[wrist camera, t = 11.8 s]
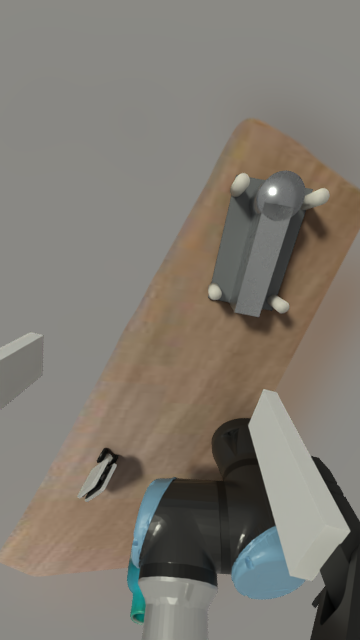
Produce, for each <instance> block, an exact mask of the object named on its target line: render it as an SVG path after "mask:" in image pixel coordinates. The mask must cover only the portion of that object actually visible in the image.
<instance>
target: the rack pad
mask: <svg viewBox="0 0 360 640" xmlns="http://www.w3.org/2000/svg"><path fill="white" fill-rule="evenodd" d="M265 181H266V180H261V179H255V178H250V177H249V176H248V175H247V174H245V173H242V174H239V175H236V178H235V181H234V183H233V184H232V186H231V188H230V193H231V200H230V204H229V208H228V213H227V217H226V221H225V226H224V230H223V234H222V239H221V243H220V247H219V252H218V256H217V261H216V265H215V269H214V274H213V278H212V282H211V284H210V285H209V286H208V292H209V295H208V298H210V299H212V300H220V301H225V302H230V299H231V295H232V291H233V287H234V284H235V280H236V276H237V272H238V268H239V265H240V261H241V257H242V253H243V250H244V246H245V242H246V238H247V234H248V231H249V227H250V223H251V219H252V216H251V214H250V210H249V203H250V199H251V196H252V194H253V193H254V191H255V190H256V189H257V188H258V187H259V186H260V185H261V184H262V183H264V182H265ZM312 191H313V189H308V188H305V198H304V202H303V204H302V206H301V208H300V209H299V210H298V212H297V213H296V214H295V215H293V216H292V217H291V218H290V221H289V224H288V227H287V231H286V234H285V237H284V240H283V243H282V246H281V249H280V253H279V256H278V259H277V262H276V265H275V268H274V272H273V275H272V278H271V281H270V284H269V287H268V290H267V294H266V297H265V300H264V303H263V306H262V309H266V310H271V311H272V310H273V308H274V309H275V310H277V311H278V312H279V313H285V312H287V311H288V309H289V304H288V303H287V302H286V301H284V300H283V299H281V298H280V297H278V296H277V295H278V292H279V289H280V286H281V283H282V280H283V277H284V274H285V271H286V268H287V265H288V262H289V259H290V256H291V253H292V250H293V247H294V244H295V241H296V238H297V235H298V233H299V230H300V227H301V224H302V221H303V218H304V215H305V212H306V209H310V208H313V207H316V206H319V205H322V204H324V203H326V202H327V201H328V199H329V191H328V190H327V189H325V188H322V189H319V190H317V191H315V192H312Z"/></svg>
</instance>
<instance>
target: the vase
mask: <svg viewBox="0 0 360 640" xmlns="http://www.w3.org/2000/svg"><path fill="white" fill-rule="evenodd" d="M139 572H140V568H137V567H136V566H135V565H134V564H133V562H132V550H131V555H130V560H129V566H128V575H127V581H128V587H129V589H130V591H131V592H132V593H133V600H132V608H131V615H130V617H131V619H132V621H133V622H135V623H137V624H139V625H144V616H145V608H146V603H145V598H144V596H143V594H142V592H141V589H140V587H139V585H138V579H139Z"/></svg>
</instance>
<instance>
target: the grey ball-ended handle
mask: <svg viewBox="0 0 360 640" xmlns="http://www.w3.org/2000/svg"><path fill="white" fill-rule="evenodd" d="M304 198H305V186H304V183H303V181H302V179H301V178H300V177H299V176H298V175H297V174H296V173H294V172H291V171H280V172H277V173H275V174H273V175H271V176H270V177H269V178H268V179H267V180H266V181H265V182H264V183H262V184H261V185H260V186H259V187H258V188H257V189H256V190H255V191H254V193H253V194H252V196H251V199H250V203H249V210H250V214H251V216H252V219H251V223H250V227H249V231H248V234H247V238H246V242H245V246H244V250H243V253H242V257H241V261H240V265H239V268H238V272H237V276H236V280H235V284H234V287H233V291H232V295H231V299H230V302H229V303H230V305H231V307H232V309H233V311H234V312H235V313H240V314H245V315H251V316H256V317H259V316H260V312H261V309H262V306H263V303H264V300H265V297H266V294H267V290H268V287H269V284H270V281H271V278H272V275H273V272H274V268H275V265H276V262H277V259H278V256H279V253H280V249H281V246H282V243H283V240H284V237H285V234H286V231H287V227H288V224H289V221H290V218H291V217H292V216H293V215H295V214H296V213H297V212H298V210H299V209H300V208H301V206H302V204H303V202H304Z"/></svg>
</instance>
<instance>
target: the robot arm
mask: <svg viewBox="0 0 360 640" xmlns="http://www.w3.org/2000/svg"><path fill="white" fill-rule="evenodd" d="M43 337H44V335H40V334H36V333H32V332H30V333H28V334H26V335H25V336H23V337H20V338H18V339H16V340H15V341H13V342H11V343H9V344H7V345H5V346H3V347H1V348H0V410H1V409H2V408H3V407H5V406H6V405H7V404H8V403H9V402H11V401H12V400H13V399H14V398H15V397H17V396H18V395H19V394H20V393H21V392H23V391H24V390H25V389H26V388H28V387H29V386H30V385H31V384H32V383H34V382H35V381H36V380H37V379H38V378H40V377H41V376H42V371H43ZM212 453H213V457H214V460H215V462H216V464H217V466H218V469H219V471H220V473H221V476H222V478H223V481H213V480H193V479H179V478H176V477H173V478H167V479H165V478H160V479H156V480H154V481H153V482H152V483H151V484H150V485H149V487H148V488H147V490H146V492H145V495H144V497H143V500H142V503H141V506H140V509H139V513H138V517H137V521H136V525H135V530H134V540H133V544H132V562H133V564H134V565H135V566H136V567H137V568H140V572H139V579H138V585H139V587H140V589H141V592H142V594H143V596H144V598H145V603H146V608H145V616H144V625H143V633H142V640H208V608H209V606H210V604H211V603H212V601H213V599H214V597H215V596H216V594H217V592H218V588H217V573H219V574H231V576H232V581H233V583H234V586H235V588H236V589H237V591H238V592H239V593H241V594H242V595H244V596H245V595H247V596H248V597H249V598H252V599H272V598H277V597H281V596H284V595H286V594H288V593H291V592H292V591H294V590H296V589H297V588H298V587H300V586H301V585H302V584H303V583H304V582H305V580H309V581H313V579H314V578H315V577H316V575H317V574H318V573H319V571H320V572H321V575H322V578H323V580H324V583H325V587H324V588H323V590H322V591H321V592H320V593H319V595H318V596H317V597H316V598H315V600H314V601H313V603H312V605H313V606H314V607H315V608H316V607H317V605H318V604H319V605H318V609H317V614H316V618H315V622H314V626H313V630H312V635H311V639H310V640H360V521H359V519H358V518H357V516H356V514H355V513H354V511H353V509H352V508H351V506H350V504H349V502H348V501H347V499H346V497H344V496H343V492H342V490H341V489H340V487H339V486H338V485H337V482H336V481H335V479H334V477H333V475H332V473H331V472H330V470H329V469H328V468H327V467H326V466H325V464H323V462H322V461H321V460H320V459H319V458H317V457H313V456H310V454H309V452H308V450H307V449H306V447H305V445H304V443H303V441H302V439H301V437H300V435H299V434H298V432H297V430H296V428H295V426H294V424H293V422H292V421H291V419H290V417H289V415H288V413H287V411H286V409H285V407H284V405H283V404H282V402H281V400H280V398H279V396H278V394H277V392H273V391H269V390H265V389H263V392H262V394H261V397H260V399H259V401H258V404H257V406H256V408H255V411H254V413H253V415H252V418H251V419H249V418H240V419H234V420H231V421H228V422H226V423H224V424H223V425H221V426H220V427H219V428H218V429H217V430H216V431H215V433H214V435H213V437H212Z"/></svg>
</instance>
